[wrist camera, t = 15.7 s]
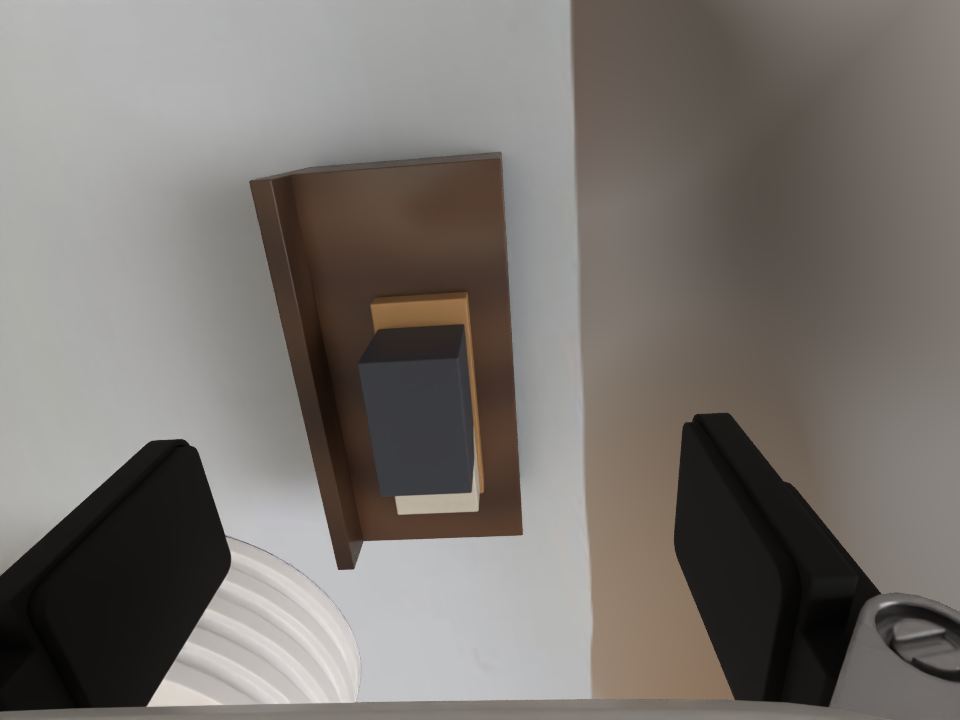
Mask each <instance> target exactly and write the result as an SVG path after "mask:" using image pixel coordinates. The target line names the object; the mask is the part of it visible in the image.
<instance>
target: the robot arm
mask: <svg viewBox="0 0 960 720" xmlns="http://www.w3.org/2000/svg"><path fill="white" fill-rule="evenodd" d="M674 546H675V552H676V556H677V559H678V561H679V564H680V566H681V569H682V571H683V573H684V576H685V578H686V581H687V583H688V586H689V588H690V591H691V593H692V596H693V598H694V601H695V603H696V605H697V608H698V610H699V613H700V615H701V618H702V620H703V622H704V625H705V628H706V630H707V632H708V635H709V637H710V640H711V642H712V645H713V647H714V650H715V652H716V654H717V657H718V659H719V662H720V664H721V667H722V669H723V672H724V674H725V677H726V679H727V681H728V684H729V686H730V689H731V691H732V694H733V696H734V699H735V700H683V699H674V700H673V699H576V700H491V701H415V702H355V703H300V704H247V705H202V706H160V707H147V705H148V704H149V702H150V700H151V699H152V697H153V695H154V694H155V692H156V690H157V689H158V687H159V686H160V684H161V682H162V681H163V679H164V677H165V676H166V674H167V672H168V671H169V669H170V667H171V666H172V664H173V663H174V661H175V659H176V658H177V656H178V654H179V653H180V651H181V649H182V648H183V646H184V644H185V643H186V641H187V640H188V638H189V636H190V635H191V633H192V631H193V630H194V628H195V626H196V625H197V623H198V621H199V620H200V618H201V617H202V615H203V613H204V612H205V610H206V608H207V607H208V605H209V603H210V602H211V600H212V598H213V597H214V595H215V593H216V592H217V590H218V589H219V587H220V585H221V584H222V582H223V580H224V579H225V577H226V575H227V574H228V572H229V569H230V566H231V552H230V549H229V546H228V543H227V540H226V537H225V533H224V530H223V527H222V524H221V521H220V518H219V515H218V512H217V509H216V506H215V502H214V499H213V496H212V493H211V490H210V487H209V484H208V481H207V478H206V475H205V471H204V468H203V465H202V462H201V459H200V456H199V453H198V451H197V449H196V448H195V447H193V446H190V445H189V444H188V443H187V441H185V440H183V439H176V440H156V441H151V442H149V443H147V444H146V445H145V446H144V447H143V448H142V449H141V450H140V451H138V452H137V453H136V454H135V455H134V456H133V457H132V458H131V459H130V460H128V461H127V462H126V463H125V464H124V465H123V466H122V467H121V468H120V469H119V470H117V471H116V472H115V473H114V474H113V475H112V476H111V477H110V478H109V479H107V480H106V481H105V482H104V483H103V484H102V485H101V486H100V487H99V488H97V489H96V490H95V491H94V492H93V493H92V494H91V495H90V496H89V497H87V498H86V499H85V500H84V501H83V502H82V503H81V504H80V505H79V506H77V507H76V508H75V509H74V510H73V511H72V512H71V513H70V514H69V515H67V516H66V517H65V518H64V519H63V520H62V521H61V522H60V523H59V524H58V525H56V526H55V527H54V528H53V529H52V530H51V531H50V532H49V533H48V534H46V535H45V536H44V537H43V538H42V539H41V540H40V541H39V542H38V543H36V544H35V545H34V546H33V547H32V548H31V549H30V550H29V551H28V552H26V553H25V554H24V555H23V556H22V557H21V558H20V559H19V560H18V561H16V562H15V563H14V564H13V565H12V566H11V567H10V568H9V569H8V570H6V571H5V572H4V573H3V574H2V575H1V576H0V720H960V612H959V611H957V610H955V609H953V608H951V607H948V606H946V605H944V604H942V603H940V602H937V601H934V600H931V599H928V598H924V597H921V596H918V595H911V594H903V593H888V594H881V593H880V592H879V590H878V589H877V588H876V587H875V585H874V584H873V583H872V582H871V580H870V579H869V578H868V577H867V576H866V574H865V573H864V572H863V571H862V569H861V568H860V567H859V566H858V565H857V563H856V562H855V561H854V560H853V558H852V557H851V556H850V555H849V553H848V552H847V551H846V550H845V548H844V547H843V546H842V545H841V544H840V543H839V541H838V540H837V539H836V537H835V536H834V535H833V534H832V532H831V531H830V530H829V529H828V528H827V526H826V525H825V524H824V523H823V521H822V520H821V519H820V518H819V516H818V515H817V514H816V513H815V512H814V510H813V509H812V508H811V507H810V505H809V504H808V503H807V502H806V500H805V499H804V498H803V497H802V496H801V494H800V493H799V492H798V491H797V490H796V489H795V487H793V486H792V485H791V484H790V483H787V482H784V481H783V480H782V479H781V478H780V476H779V475H778V474H777V473H776V471H775V470H774V469H773V468H772V466H771V465H770V464H769V462H768V461H767V460H766V459H765V458H764V456H763V455H762V454H761V452H760V451H759V450H758V449H757V448H756V446H755V445H754V444H753V442H752V441H751V440H750V439H749V437H748V436H747V435H746V434H745V432H744V431H743V430H742V429H741V427H740V426H739V425H738V423H737V422H736V421H735V420H734V418H733V417H732V416H731V415H730V414H729V413H712V414H696V415H695V416H694V418H693V421H692V422H686V423H685V424H684V426H683V430H682V442H681V455H680V467H679V480H678V493H677V505H676V518H675V530H674Z"/></svg>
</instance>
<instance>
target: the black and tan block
mask: <svg viewBox="0 0 960 720" xmlns="http://www.w3.org/2000/svg"><path fill="white" fill-rule="evenodd" d="M370 307H371V313H372V319H373V325H374V332H375V335H374V337H373V339H372V340H371V342H370V344H369V345H368V347H367V349H366V350H365V352H364V354H363V355H362V357H361V359H360V360H359V362H358V364H357V366H358V372H359V377H360V383H361V389H362V394H363V400H364V405H365V411H366V417H367V422H368V428H369V433H370V439H371V445H372V450H373V456H374V461H375V467H376V473H377V478H378V484H379V489H380V495H381V497H388V496H395V501H396V507H397V513H398V514H399V515H403V514H428V513H453V512H477V511H478V510H479V493H483V492H484V472H483V461H482V450H481V438H480V427H479V415H478V404H477V393H476V381H475V370H474V358H473V347H472V336H471V324H470V313H469V301H468V293H467V292H456V293H440V294H425V295H409V296H394V297H378V298H375V299H374V300H373V302H372V303H371V304H370Z"/></svg>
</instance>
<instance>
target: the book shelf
mask: <svg viewBox="0 0 960 720" xmlns="http://www.w3.org/2000/svg"><path fill="white" fill-rule="evenodd" d="M250 187H251V191H252V195H253V200H254V204H255V209H256V213H257V217H258V222H259V226H260V230H261V235H262V239H263V244H264V248H265V252H266V257H267V261H268V265H269V270H270V274H271V278H272V283H273V287H274V292H275V296H276V300H277V305H278V309H279V313H280V318H281V322H282V327H283V331H284V335H285V340H286V344H287V348H288V353H289V357H290V362H291V366H292V370H293V375H294V379H295V383H296V388H297V392H298V397H299V401H300V405H301V410H302V414H303V418H304V423H305V427H306V432H307V436H308V440H309V445H310V449H311V453H312V458H313V462H314V467H315V471H316V475H317V480H318V484H319V488H320V493H321V497H322V502H323V506H324V510H325V515H326V519H327V523H328V528H329V532H330V537H331V541H332V545H333V550H334V554H335V558H336V563H337V567H338V570H350V569H354V568H355V565H356V562H357V559H358V556H359V553H360V550H361V547H362V544H363V541H378V540H405V539H433V538H461V537H489V536H516V535H523V528H522V510H521V492H520V474H519V457H518V439H517V421H516V403H515V386H514V368H513V350H512V332H511V314H510V296H509V279H508V261H507V243H506V225H505V207H504V189H503V170H502V154H501V152H497V153H484V154H472V155H459V156H446V157H433V158H421V159H408V160H395V161H383V162H370V163H357V164H345V165H332V166H319V167H309V168H305V169H300V170H296V171H291V172H287V173H282V174H278V175H273V176H269V177H264V178H260V179H255V180H251V181H250ZM456 292H467V293H468V301H469V313H470V324H471V336H472V347H473V358H474V370H475V381H476V393H477V404H478V415H479V427H480V438H481V450H482V461H483V472H484V492H483V493H479V510H478V511H477V512H453V513H428V514H403V515H399V514H398V513H397V507H396V501H395V496H388V497H381V495H380V489H379V484H378V478H377V473H376V467H375V461H374V456H373V450H372V445H371V439H370V433H369V428H368V422H367V417H366V411H365V405H364V400H363V394H362V389H361V383H360V377H359V372H358V366H357V364H358V362H359V360H360V359H361V357H362V355H363V354H364V352H365V350H366V349H367V347H368V345H369V344H370V342H371V340H372V339H373V337H374V335H375V332H374V325H373V319H372V313H371V307H370V304H371V303H372V302H373V300H374V299H375V298H378V297H394V296H409V295H425V294H440V293H456Z"/></svg>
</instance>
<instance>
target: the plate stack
mask: <svg viewBox="0 0 960 720" xmlns="http://www.w3.org/2000/svg"><path fill="white" fill-rule="evenodd" d="M226 540H227V543H228V546H229V549H230V552H231V566H230V569H229V572H228V574H227V575H226V577H225V579H224V580H223V582H222V584H221V585H220V587H219V589H218V590H217V592H216V593H215V595H214V597H213V598H212V600H211V602H210V603H209V605H208V607H207V608H206V610H205V612H204V613H203V615H202V617H201V618H200V620H199V621H198V623H197V625H196V626H195V628H194V630H193V631H192V633H191V635H190V636H189V638H188V640H187V641H186V643H185V644H184V646H183V648H182V649H181V651H180V653H179V654H178V656H177V658H176V659H175V661H174V663H173V664H172V666H171V667H170V669H169V671H168V672H167V674H166V676H165V677H164V679H163V681H162V682H161V684H160V686H159V687H158V689H157V690H156V692H155V694H154V695H153V697H152V699H151V700H150V702H149V704H148V705H147V707H160V706H202V705H247V704H300V703H355V702H356V698H357V694H358V690H359V686H360V680H361V661H360V655H359V650H358V647H357V643H356V640H355V638H354V635H353V633H352V631H351V629H350V627H349V625H348V623H347V621H346V620H345V618H344V617H343V615H342V614H341V612H340V611H339V609H338V608H337V607H336V606H335V604H334V603H333V602H332V601H331V600H330V598H329V597H328V596H327V595H326V594H325V593H324V592H323V591H322V590H321V589H320V588H319V587H318V586H316V585H315V584H314V583H313V582H312V581H311V580H309V579H308V578H307V577H306V576H304V575H303V574H302V573H300V572H299V571H298V570H296V569H295V568H293V567H292V566H290V565H288V564H287V563H285V562H284V561H282V560H280V559H278V558H277V557H275V556H273V555H271V554H269V553H267V552H265V551H263V550H261V549H258V548H256V547H254V546H251V545H249V544H246V543H244V542H241V541H238V540H235V539H232V538H229V537H226Z"/></svg>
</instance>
